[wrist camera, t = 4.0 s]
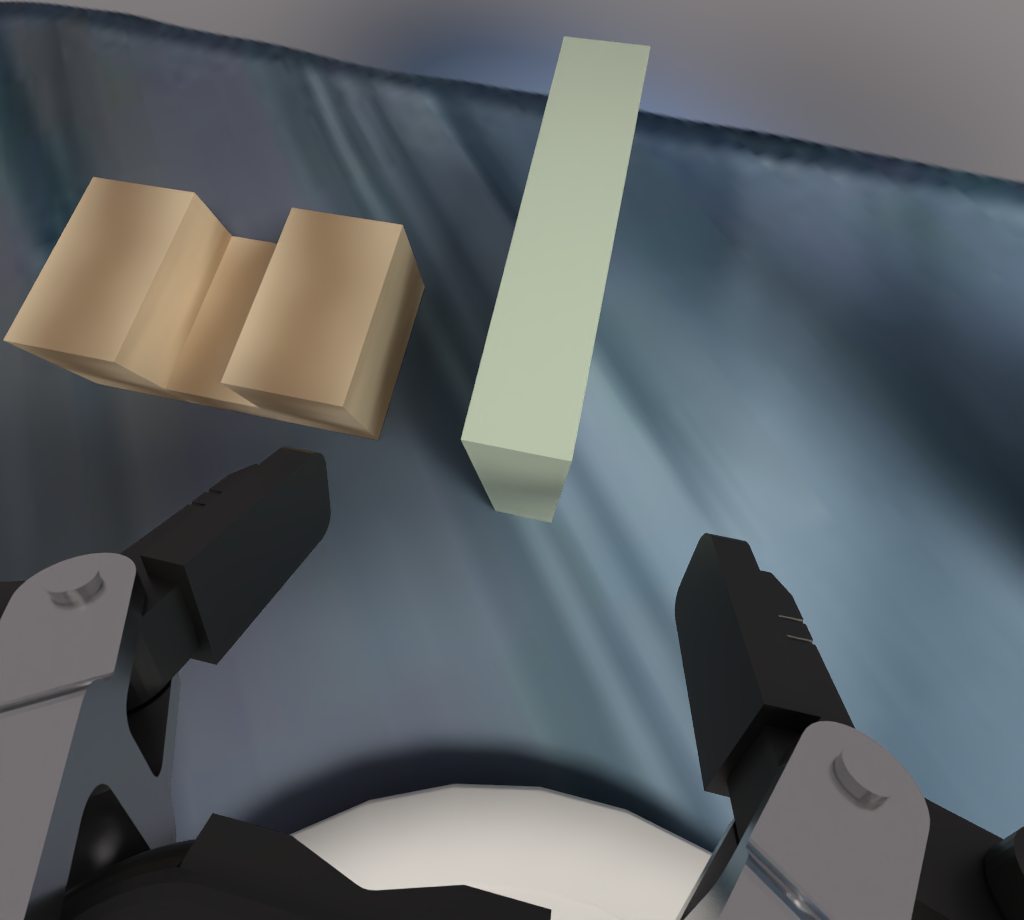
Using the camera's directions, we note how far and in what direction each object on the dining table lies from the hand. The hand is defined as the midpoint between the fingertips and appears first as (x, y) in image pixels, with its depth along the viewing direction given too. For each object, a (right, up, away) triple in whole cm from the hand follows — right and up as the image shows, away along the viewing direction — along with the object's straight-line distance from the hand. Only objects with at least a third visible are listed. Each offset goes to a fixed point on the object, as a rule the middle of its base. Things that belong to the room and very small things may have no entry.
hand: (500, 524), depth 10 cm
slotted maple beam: (-12, +7, +12) cm, 19 cm away
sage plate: (+2, +5, +11) cm, 12 cm away
